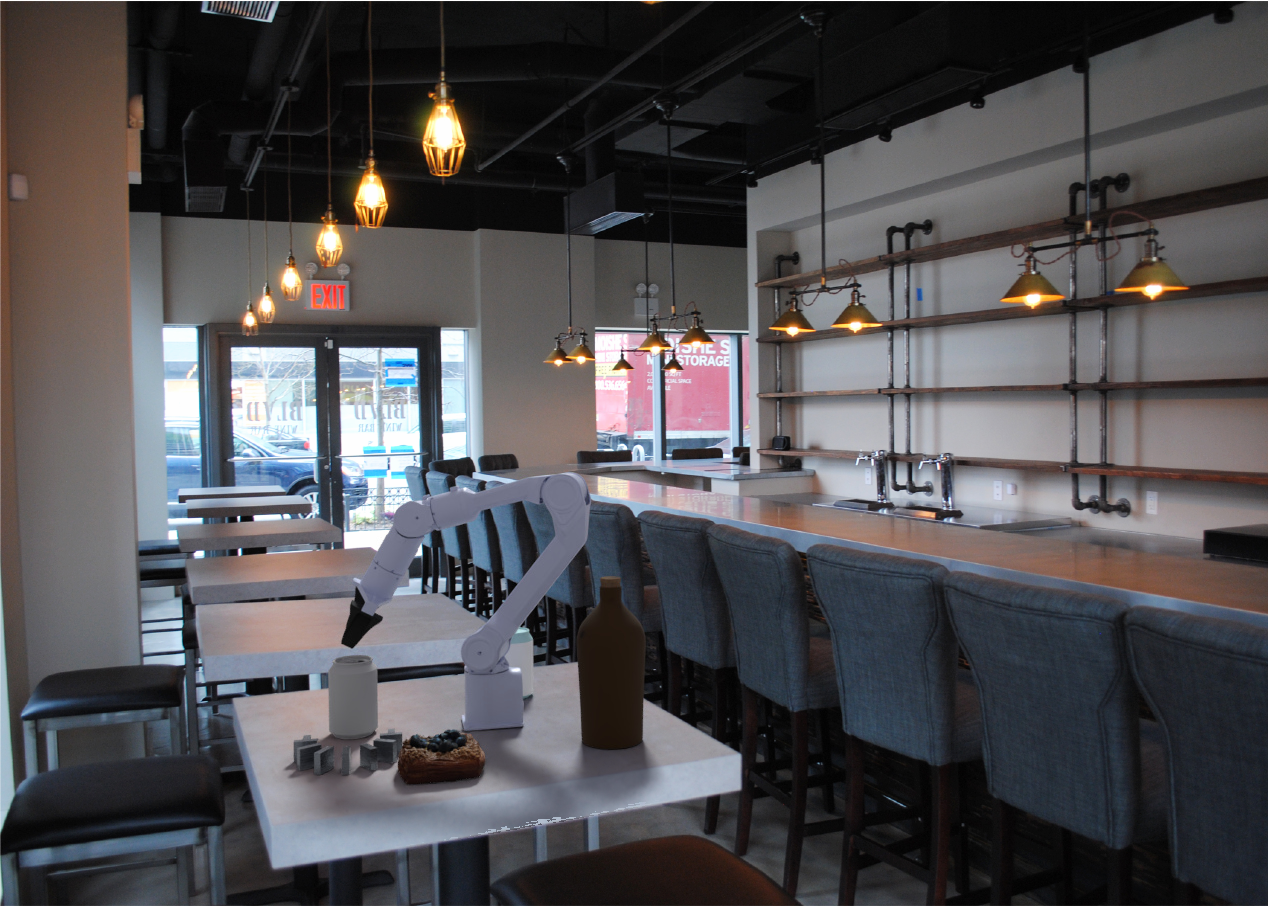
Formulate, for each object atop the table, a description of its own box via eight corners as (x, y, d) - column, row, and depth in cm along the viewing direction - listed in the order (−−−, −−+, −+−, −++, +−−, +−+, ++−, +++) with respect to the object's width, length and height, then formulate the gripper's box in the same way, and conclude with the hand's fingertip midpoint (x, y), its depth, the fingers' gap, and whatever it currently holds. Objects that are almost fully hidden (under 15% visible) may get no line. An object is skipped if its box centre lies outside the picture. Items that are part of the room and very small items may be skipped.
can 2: (499, 703, 169) (498, 635, 169) (490, 693, 175) (489, 628, 175) (538, 698, 171) (537, 631, 171) (527, 689, 178) (527, 625, 178)
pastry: (395, 764, 138) (395, 723, 138) (479, 755, 141) (479, 716, 141) (399, 790, 127) (398, 746, 127) (489, 780, 131) (489, 737, 131)
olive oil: (625, 755, 140) (623, 584, 139) (564, 745, 145) (562, 579, 145) (658, 735, 149) (657, 575, 149) (600, 726, 154) (598, 571, 154)
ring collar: (402, 747, 144) (402, 727, 144) (401, 770, 134) (401, 748, 134) (296, 756, 141) (296, 735, 141) (287, 779, 131) (287, 757, 131)
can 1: (364, 742, 147) (363, 664, 147) (319, 739, 149) (318, 662, 149) (386, 728, 155) (385, 653, 155) (343, 725, 156) (342, 652, 156)
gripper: (370, 544, 163) (331, 612, 164) (363, 567, 149) (321, 642, 150) (407, 562, 165) (369, 630, 166) (404, 587, 151) (362, 661, 152)
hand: (349, 637), depth 158 cm, fingers open, 7 cm apart
